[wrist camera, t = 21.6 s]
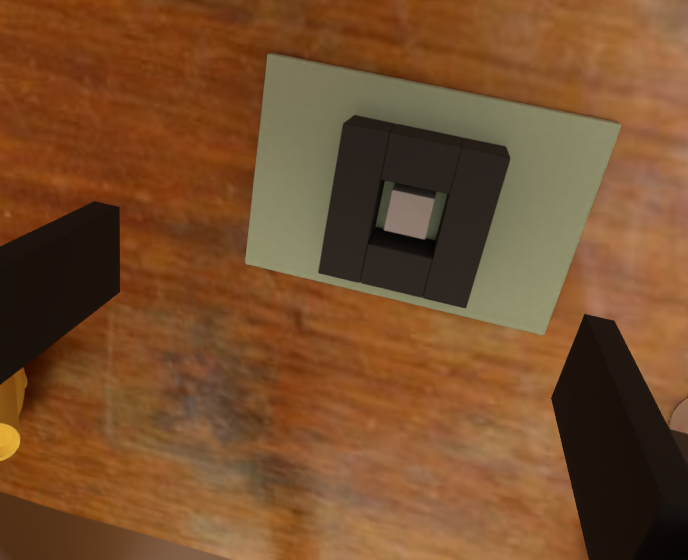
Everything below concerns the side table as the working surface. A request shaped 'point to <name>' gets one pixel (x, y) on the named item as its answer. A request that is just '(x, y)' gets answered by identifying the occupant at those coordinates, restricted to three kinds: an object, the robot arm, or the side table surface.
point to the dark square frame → (422, 172)
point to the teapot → (11, 413)
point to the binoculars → (680, 418)
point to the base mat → (421, 204)
